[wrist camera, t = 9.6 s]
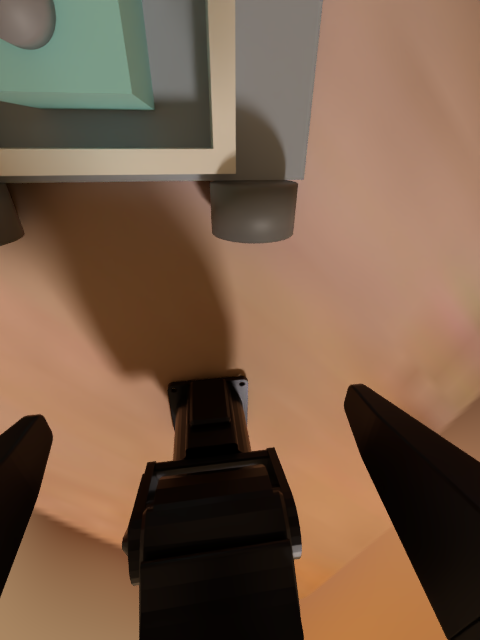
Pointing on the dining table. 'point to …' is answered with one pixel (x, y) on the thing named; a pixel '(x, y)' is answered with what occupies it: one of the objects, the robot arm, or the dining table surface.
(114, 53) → the green cube with knobs
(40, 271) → the dining table surface
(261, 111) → the chassis
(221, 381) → the robot arm
